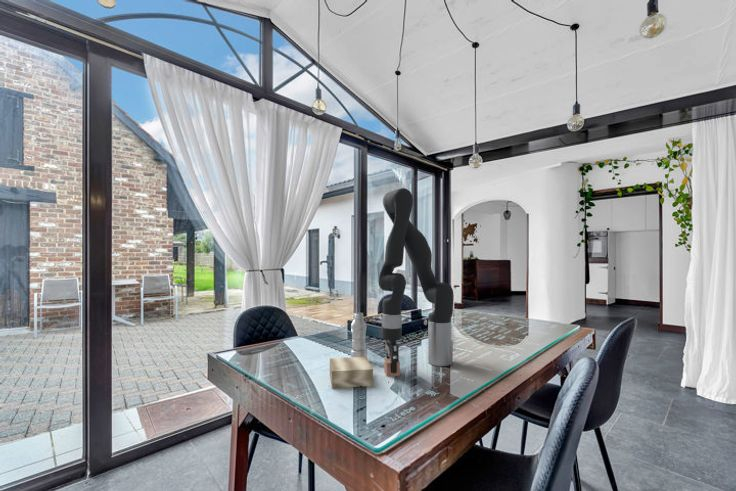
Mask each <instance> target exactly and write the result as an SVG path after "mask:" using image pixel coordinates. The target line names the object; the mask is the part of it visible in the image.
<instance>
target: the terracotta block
mask: <svg viewBox="0 0 736 491" xmlns="http://www.w3.org/2000/svg"><path fill="white" fill-rule="evenodd" d="M393 359H395V357H393ZM383 364H384V365H383V366H384V368H383V373H384V374H385V376H386V377H400V376H401V362H400V361H399V362H397V373H391V362H390V359H386V358H384V360H383Z"/></svg>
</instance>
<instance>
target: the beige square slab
mask: <svg viewBox="0 0 736 491" xmlns="http://www.w3.org/2000/svg"><path fill="white" fill-rule="evenodd" d="M329 378H330V383H331V386H330V387H331V389H340V388H344V389H345V388H359V387H360V386H362V387H373V386H374V368H373V367H372V364H371V362H370V361H369V359H368V356H367V357H351V356H350V357H334V358H333V357H332V358H331V357H330V358H329ZM360 388H361V387H360Z"/></svg>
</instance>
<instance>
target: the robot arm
mask: <svg viewBox="0 0 736 491" xmlns="http://www.w3.org/2000/svg"><path fill="white" fill-rule="evenodd" d="M413 197H414V196H413V194H412V192H411V191H410V190H409V189H407V188H405V187H400V188H398V189H397V188H396V189H393V190H391V191H388V192H386V193H385V194H384V196H383V198H382V206H383V208H384V211H385V212H386V214H387V216H388V217H389V219H390V221H391V222H392V224H393V225H392V227H391V229H390V230H391V231H390V233H389V235H388V237H387V240H386V244H385V250H384V251H385V252H384V261H383V264H382V267H381V270H380V272H379V276H378V280H377V282H378V286H379V288H380V289H381V291H386V292H391V295H390V297H385V298H383V300H382V318H381V338H382V339H383V340H385V342H384V343H385V344H384V352H385V356H386V358H385V359H390V362H391V373H397V362H400V360H399V357H400V356H399V353H400V352H399V348H400V346H399V345H398V343H397V341H398V340H399V341H400V340H401V339H402V336H403V335H402V334H403V333H402V330H403V327H402V324H403V323H402V320H403V319H402V301H403V298H404V295H405V294H404V293H405V290H406V286H407V282H406V281H407V279H406V277H405V276H404V274H403V273H399V272H394V270H395V269H396V268H400V267H401V266H403V263H404V253H405V252H404V251H406V253H407V256H408V257H409V260H410V261H411V264H412V267H413V269H414V270H415V273H416V275H417V277H418V280H419V282H420V286H421V289H422V291H423V294H424V297H425V299H426V300H427V301H428V302H429V303H430V304H434V309H433V310H434V311H432V312H430V313H428V317H427V320H428V321H427V325H428V326H427V329H428V330H427V331H428V332H427V333H428V334H427V338H428V339H427V340H428V342H427V345H428V346H427V351H428V352H427V354H428V355H427V360H428V364H430V365H432V366H437V367H447V366H450V365H453V364H454V363H453V360H454V353H453V350H454V349H453V348H454V346H453V345H454V342H453V340H452V316H453V313H454V298H455V297H454V296H455V295H454V294H455V293H454V290H453V287H452V285H450V284H449V283H447V282H442V281H441V282H440V281H438V280H437V278H436V277H435V274H434V271H433V268H432V262H433V254H432V250H431V247H430V245H429V242H428V240H427V239H426V236H425V235H424V234H423V233H422V232H421V231H420V230H419V229H418V228H417V227H416V226H415V225H414V224H413V223H412V222H411V220H410V218H411V213H412V210H413V209H412V208H413V205H414V204H413V203H414V198H413ZM393 358H395V359H393Z"/></svg>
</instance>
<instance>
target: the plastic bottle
mask: <svg viewBox="0 0 736 491" xmlns="http://www.w3.org/2000/svg"><path fill="white" fill-rule="evenodd" d="M353 314H354V316H353V318H354V319H353V321H352V322H351V325H350V330H351V338H352V340H351V343H352V344H351V350H350V351H351V352H350V358H351V357H367V358H368V354H367V348H366V333H367V323H366V322H365V320H364V313H363V312H354V313H353Z"/></svg>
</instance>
